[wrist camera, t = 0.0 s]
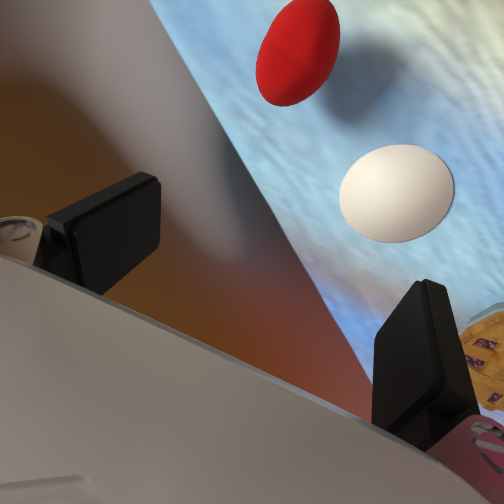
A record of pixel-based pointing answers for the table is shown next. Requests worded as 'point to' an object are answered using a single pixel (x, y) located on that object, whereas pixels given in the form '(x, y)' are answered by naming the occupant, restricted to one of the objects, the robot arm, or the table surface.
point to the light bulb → (298, 51)
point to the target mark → (396, 193)
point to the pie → (486, 355)
